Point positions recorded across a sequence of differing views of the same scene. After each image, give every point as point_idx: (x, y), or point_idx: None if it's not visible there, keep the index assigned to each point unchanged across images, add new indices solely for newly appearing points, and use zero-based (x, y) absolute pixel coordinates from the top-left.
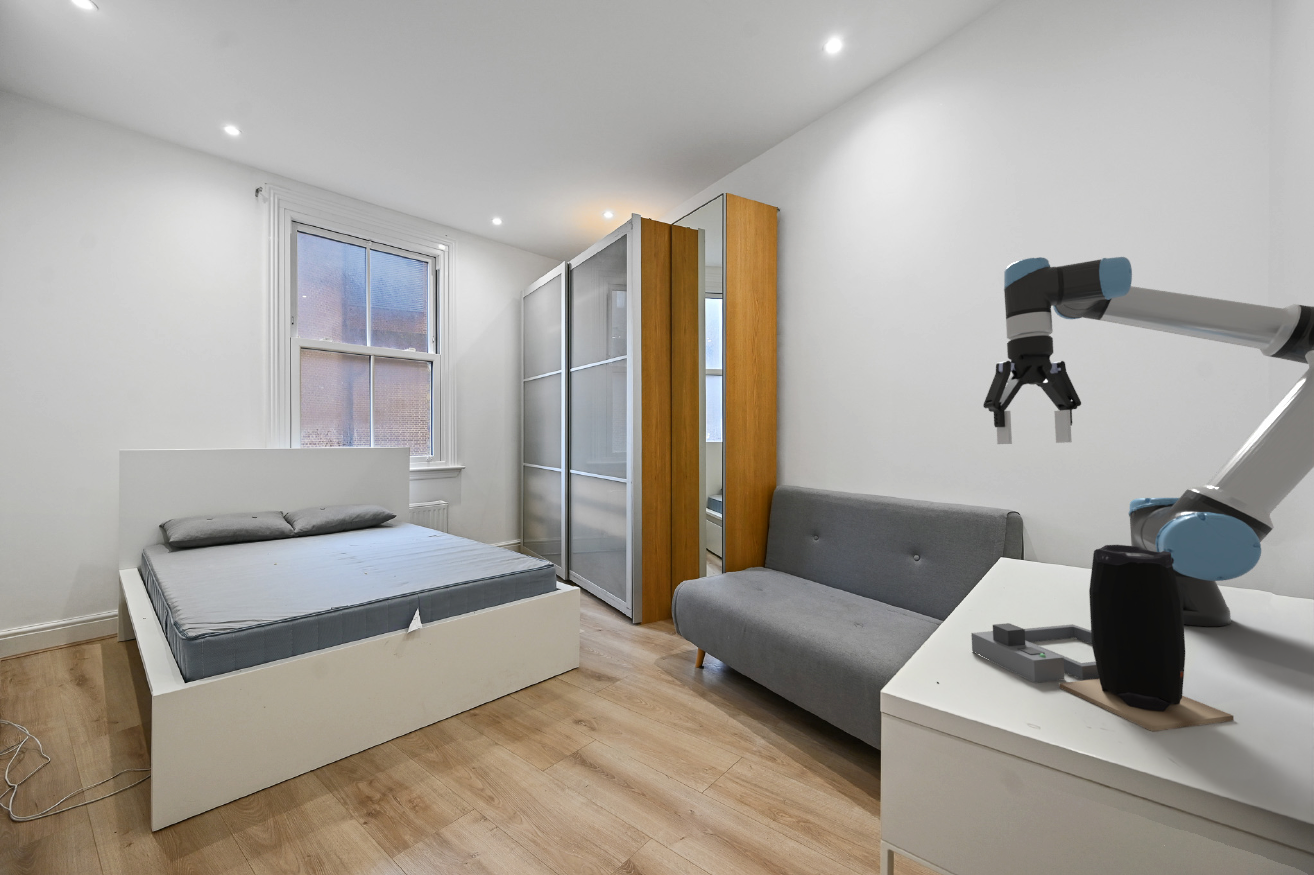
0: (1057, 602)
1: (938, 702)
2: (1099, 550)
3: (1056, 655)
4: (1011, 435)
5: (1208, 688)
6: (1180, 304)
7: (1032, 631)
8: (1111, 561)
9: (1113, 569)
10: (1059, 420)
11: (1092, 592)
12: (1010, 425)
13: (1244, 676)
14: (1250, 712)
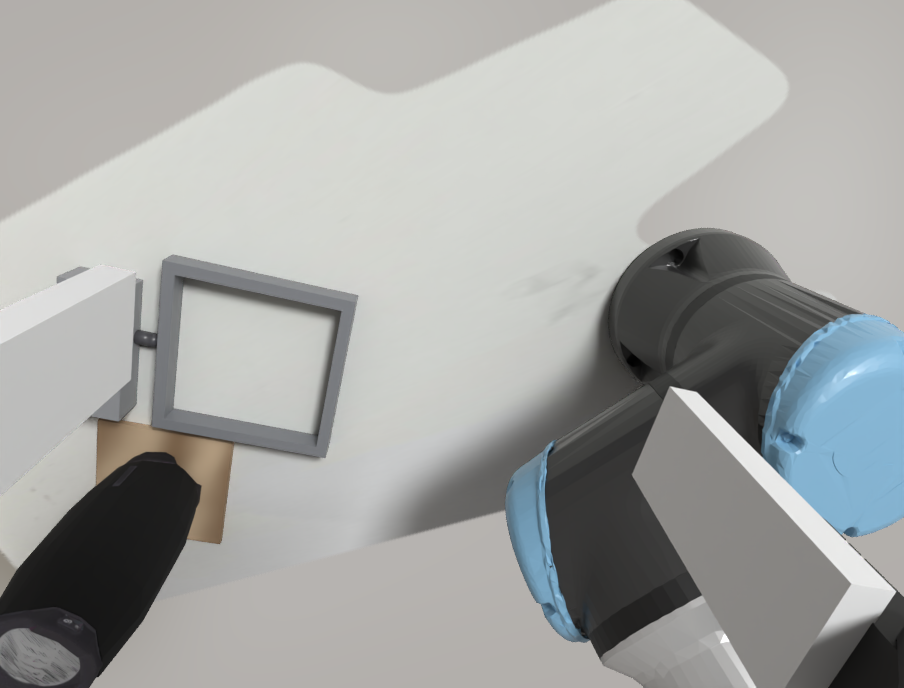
0: (595, 127)
1: None
2: None
3: (114, 412)
4: (91, 413)
5: (304, 492)
6: None
7: (241, 288)
8: None
9: None
10: (749, 541)
11: (18, 568)
12: (27, 464)
13: (399, 492)
14: (267, 537)
